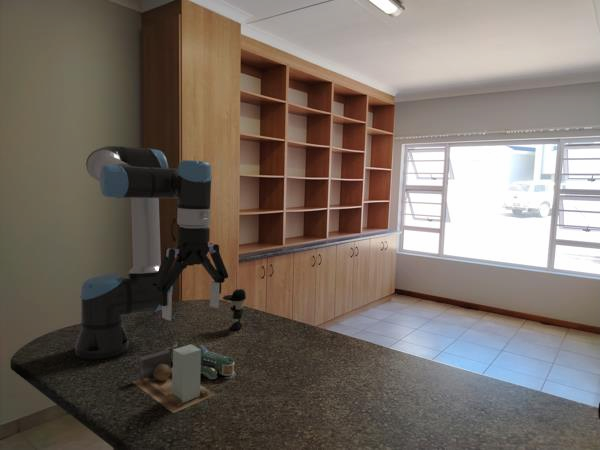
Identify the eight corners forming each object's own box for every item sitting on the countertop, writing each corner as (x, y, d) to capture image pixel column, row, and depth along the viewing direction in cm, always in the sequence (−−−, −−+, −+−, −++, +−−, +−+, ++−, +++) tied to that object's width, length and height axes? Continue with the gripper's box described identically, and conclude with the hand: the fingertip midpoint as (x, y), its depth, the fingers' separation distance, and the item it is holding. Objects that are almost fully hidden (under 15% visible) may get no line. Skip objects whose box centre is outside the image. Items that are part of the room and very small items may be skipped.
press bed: (132, 386, 107) (132, 360, 106) (173, 371, 116) (173, 347, 115) (173, 417, 94) (173, 388, 93) (215, 398, 103) (216, 371, 102)
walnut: (150, 380, 108) (150, 364, 108) (165, 374, 111) (165, 359, 111) (158, 386, 105) (158, 370, 105) (173, 380, 108) (174, 364, 108)
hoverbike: (224, 389, 108) (224, 359, 107) (151, 368, 118) (151, 341, 117) (243, 374, 116) (244, 346, 116) (174, 356, 126) (174, 330, 125)
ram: (171, 395, 101) (171, 348, 99) (188, 388, 104) (189, 343, 103) (182, 403, 97) (183, 355, 96) (199, 395, 101) (201, 349, 100)
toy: (225, 323, 156) (226, 285, 155) (247, 325, 155) (248, 287, 154) (219, 330, 149) (220, 290, 147) (242, 332, 148) (243, 292, 146)
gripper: (153, 231, 85) (152, 329, 87) (243, 225, 104) (240, 305, 106) (135, 227, 90) (135, 320, 92) (224, 222, 109) (222, 299, 111)
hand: (191, 312), depth 99 cm, fingers open, 13 cm apart
